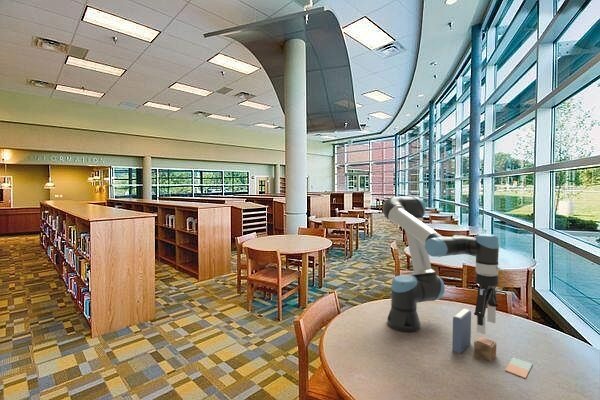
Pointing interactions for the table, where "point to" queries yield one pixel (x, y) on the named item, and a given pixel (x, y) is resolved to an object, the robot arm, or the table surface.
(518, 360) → the tile sage
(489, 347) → the letter block
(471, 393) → the table surface
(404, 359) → the table surface
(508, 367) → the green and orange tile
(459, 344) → the navy book
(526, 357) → the table surface
